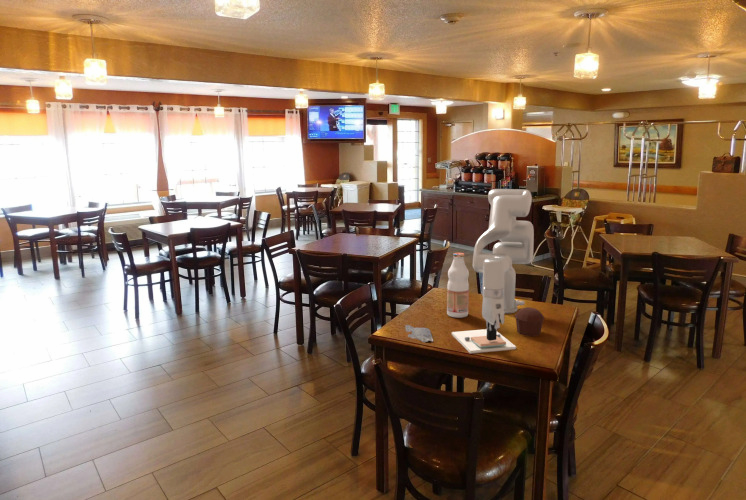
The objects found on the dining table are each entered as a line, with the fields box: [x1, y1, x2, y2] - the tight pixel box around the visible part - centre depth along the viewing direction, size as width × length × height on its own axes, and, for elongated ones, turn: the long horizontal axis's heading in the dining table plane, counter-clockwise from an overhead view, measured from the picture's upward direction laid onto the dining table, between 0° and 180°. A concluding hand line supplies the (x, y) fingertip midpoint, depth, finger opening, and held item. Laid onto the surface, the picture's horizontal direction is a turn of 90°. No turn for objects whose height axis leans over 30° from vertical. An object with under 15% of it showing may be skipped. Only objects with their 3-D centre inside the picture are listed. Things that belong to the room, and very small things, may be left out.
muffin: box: [514, 307, 546, 337], centre depth 210 cm, size 12×11×10 cm
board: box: [451, 328, 517, 354], centre depth 202 cm, size 18×20×2 cm
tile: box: [471, 336, 506, 347], centre depth 197 cm, size 10×10×1 cm
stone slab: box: [404, 324, 434, 343], centre depth 210 cm, size 18×2×10 cm
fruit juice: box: [446, 252, 470, 319], centre depth 231 cm, size 9×9×28 cm
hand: (491, 339), depth 194 cm, fingers closed
